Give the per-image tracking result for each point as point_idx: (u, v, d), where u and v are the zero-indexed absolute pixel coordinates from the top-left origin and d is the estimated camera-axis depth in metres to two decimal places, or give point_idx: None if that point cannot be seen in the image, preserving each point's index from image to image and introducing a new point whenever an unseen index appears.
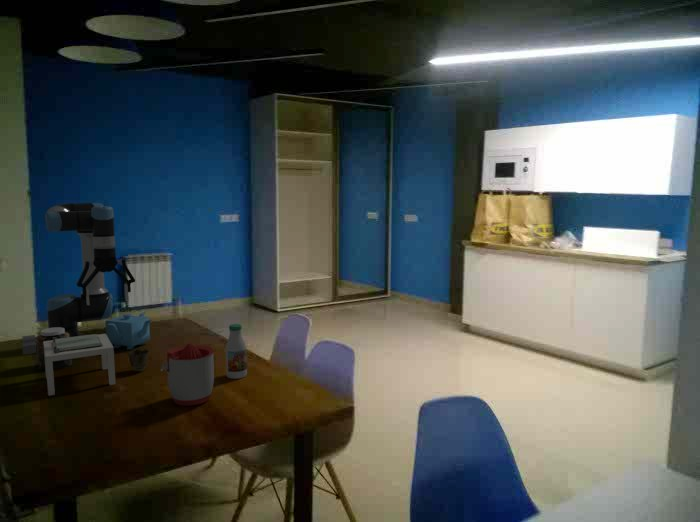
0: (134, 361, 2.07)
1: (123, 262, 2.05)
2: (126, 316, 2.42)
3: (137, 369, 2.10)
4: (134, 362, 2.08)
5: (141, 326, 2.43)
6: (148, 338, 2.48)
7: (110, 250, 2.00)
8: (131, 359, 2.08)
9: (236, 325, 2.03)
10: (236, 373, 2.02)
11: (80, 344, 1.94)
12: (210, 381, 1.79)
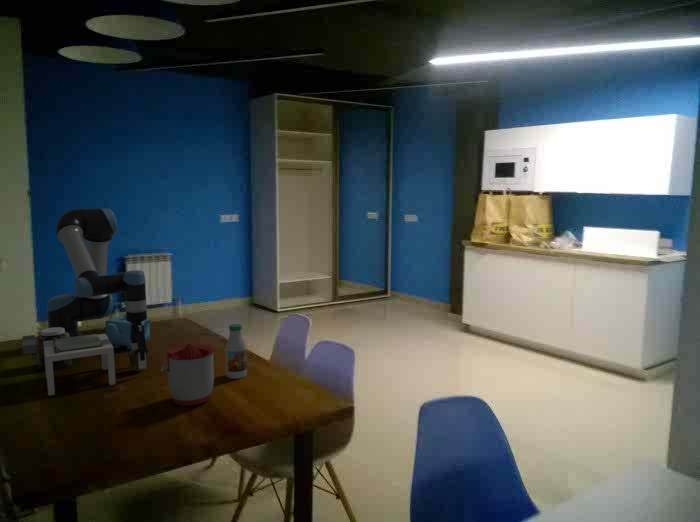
0: (134, 361, 2.07)
1: (136, 329, 2.03)
2: None
3: (137, 369, 2.10)
4: (134, 362, 2.08)
5: None
6: (148, 338, 2.48)
7: (128, 314, 2.05)
8: (131, 359, 2.08)
9: (236, 325, 2.03)
10: (236, 373, 2.02)
11: (80, 344, 1.94)
12: (210, 381, 1.79)
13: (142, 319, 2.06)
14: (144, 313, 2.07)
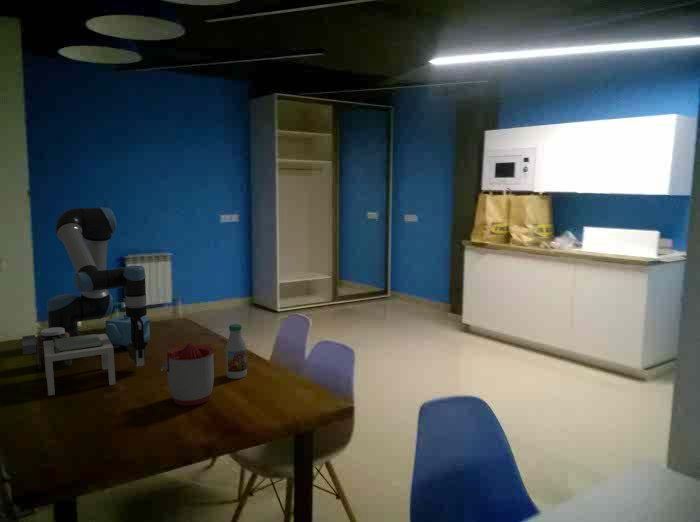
0: (133, 353, 2.07)
1: (136, 327, 2.03)
2: (126, 316, 2.42)
3: None
4: (133, 354, 2.07)
5: None
6: (148, 338, 2.48)
7: (127, 309, 2.05)
8: (130, 351, 2.08)
9: (236, 325, 2.03)
10: (236, 373, 2.02)
11: (80, 344, 1.94)
12: (210, 381, 1.79)
13: (142, 315, 2.06)
14: (144, 309, 2.07)
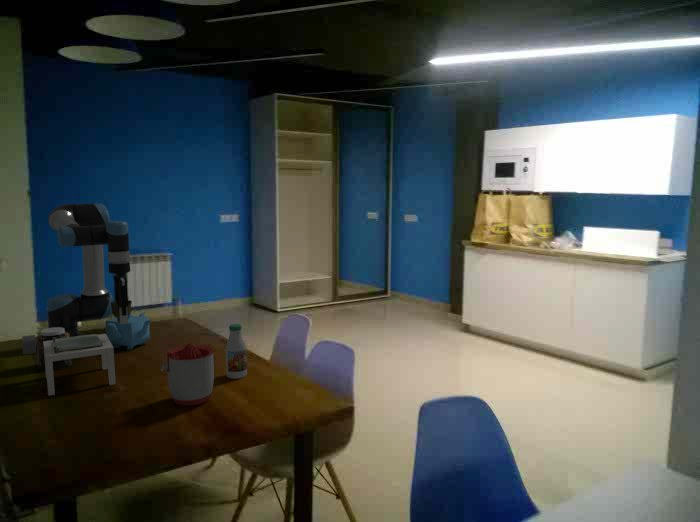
0: (116, 311, 2.02)
1: (119, 283, 1.98)
2: None
3: None
4: (117, 311, 2.02)
5: (141, 326, 2.43)
6: (148, 338, 2.48)
7: (110, 265, 2.00)
8: (113, 309, 2.02)
9: (236, 325, 2.03)
10: (236, 373, 2.02)
11: (80, 344, 1.94)
12: (210, 381, 1.79)
13: (125, 271, 2.01)
14: (127, 265, 2.02)
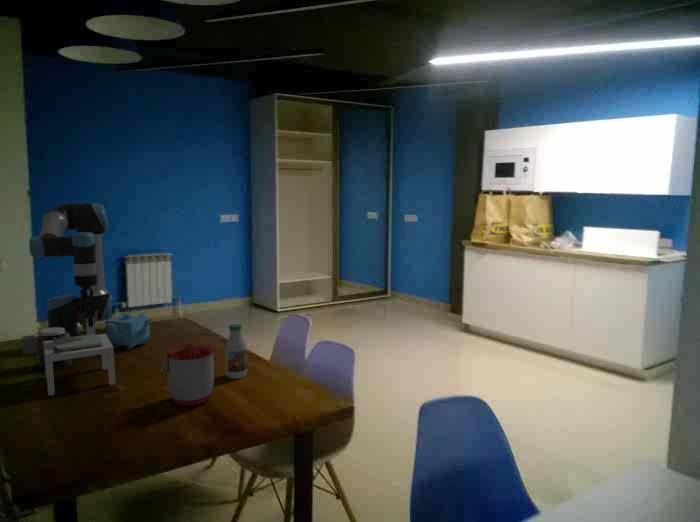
0: (81, 319, 1.99)
1: (84, 293, 1.92)
2: (126, 316, 2.42)
3: (85, 327, 2.01)
4: (81, 319, 1.99)
5: (141, 326, 2.43)
6: (148, 338, 2.48)
7: (76, 278, 1.94)
8: (78, 317, 1.99)
9: (236, 325, 2.03)
10: (236, 373, 2.02)
11: (80, 344, 1.94)
12: (210, 381, 1.79)
13: (91, 283, 1.96)
14: (93, 277, 1.97)
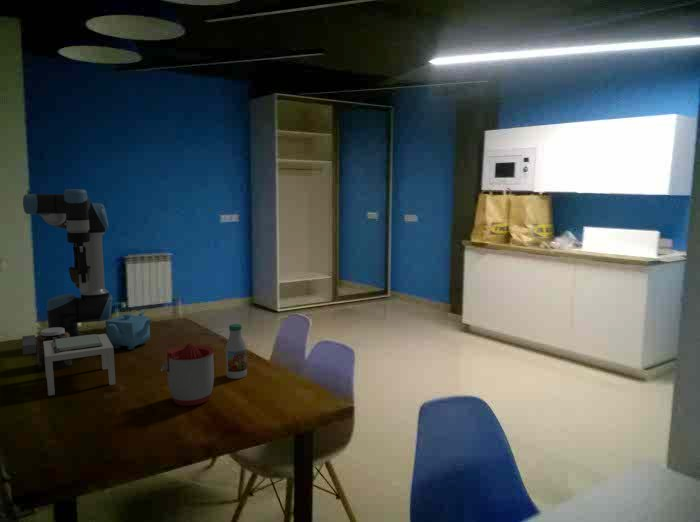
0: (74, 276, 1.99)
1: (77, 249, 1.93)
2: (126, 316, 2.41)
3: (78, 285, 2.02)
4: (74, 277, 1.99)
5: (142, 326, 2.42)
6: (148, 338, 2.48)
7: (68, 234, 1.95)
8: (71, 274, 1.99)
9: (236, 325, 2.03)
10: (236, 373, 2.02)
11: (80, 344, 1.94)
12: (210, 381, 1.79)
13: (84, 240, 1.96)
14: (86, 234, 1.97)
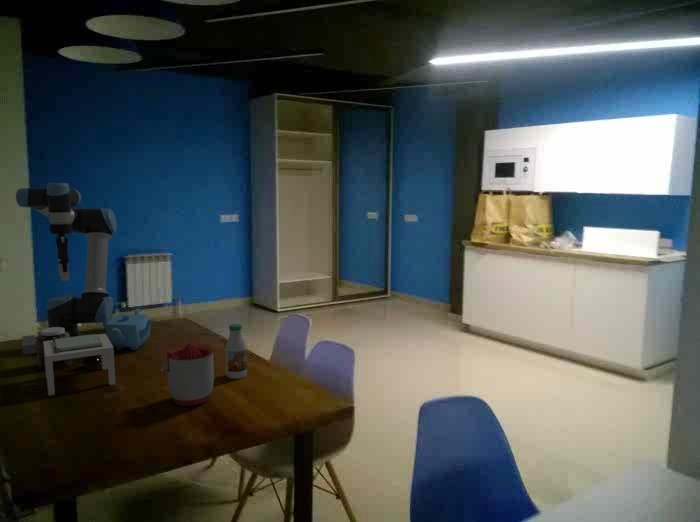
0: None
1: (59, 240, 2.01)
2: (126, 317, 2.38)
3: None
4: None
5: (143, 325, 2.41)
6: (149, 335, 2.47)
7: (51, 226, 2.03)
8: None
9: (236, 325, 2.03)
10: (236, 373, 2.02)
11: (80, 344, 1.94)
12: (210, 381, 1.79)
13: (66, 231, 2.05)
14: (68, 225, 2.05)
